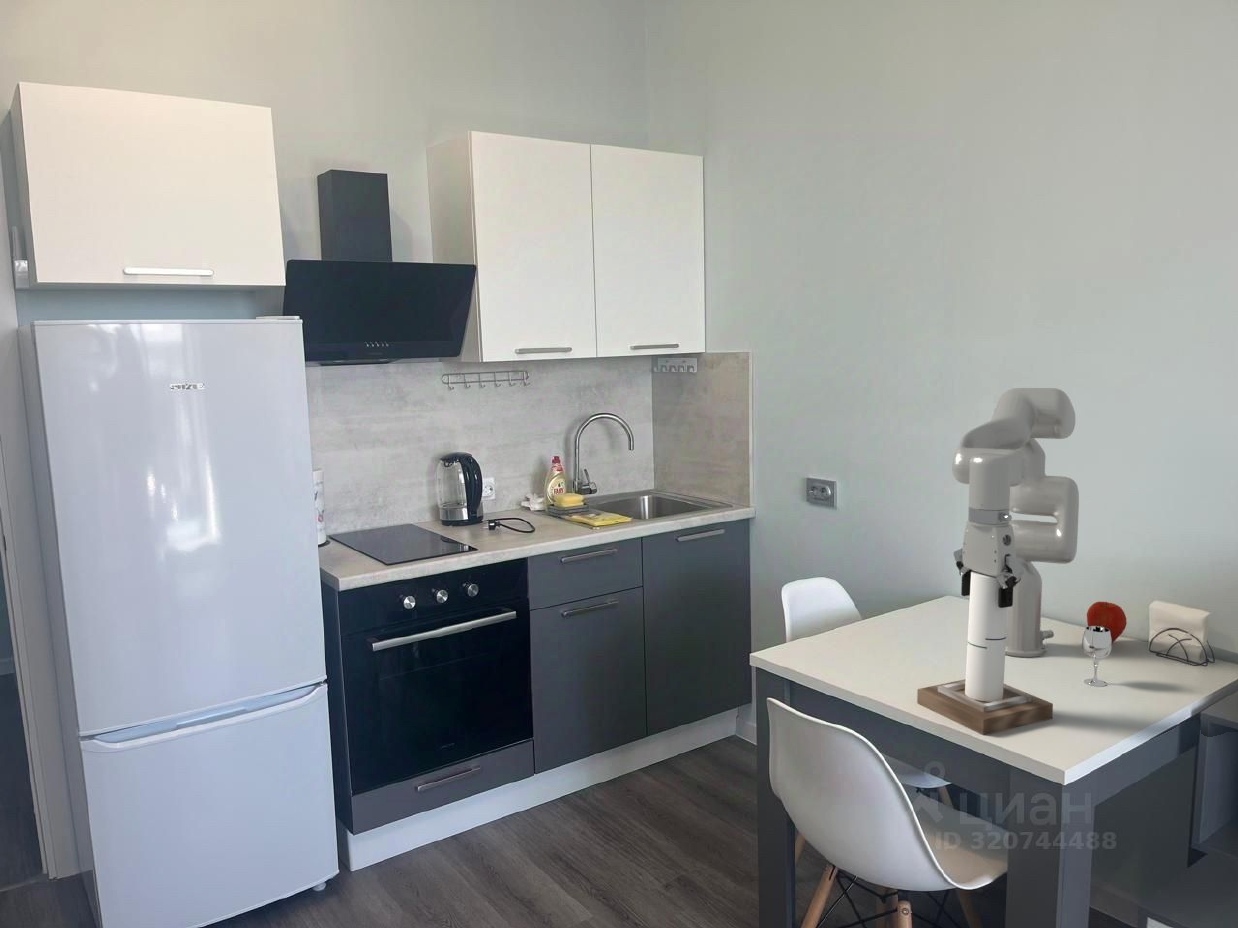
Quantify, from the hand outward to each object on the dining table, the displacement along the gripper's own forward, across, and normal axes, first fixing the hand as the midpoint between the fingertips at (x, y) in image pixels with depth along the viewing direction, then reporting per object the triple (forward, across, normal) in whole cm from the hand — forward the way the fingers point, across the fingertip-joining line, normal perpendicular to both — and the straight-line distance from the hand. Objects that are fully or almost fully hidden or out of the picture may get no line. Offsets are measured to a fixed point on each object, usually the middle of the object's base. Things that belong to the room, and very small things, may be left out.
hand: (986, 600), depth 187 cm
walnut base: (+23, 0, 0) cm, 23 cm away
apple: (+23, +18, -57) cm, 64 cm away
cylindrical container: (+20, 0, 0) cm, 20 cm away
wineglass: (+23, +1, -33) cm, 40 cm away
